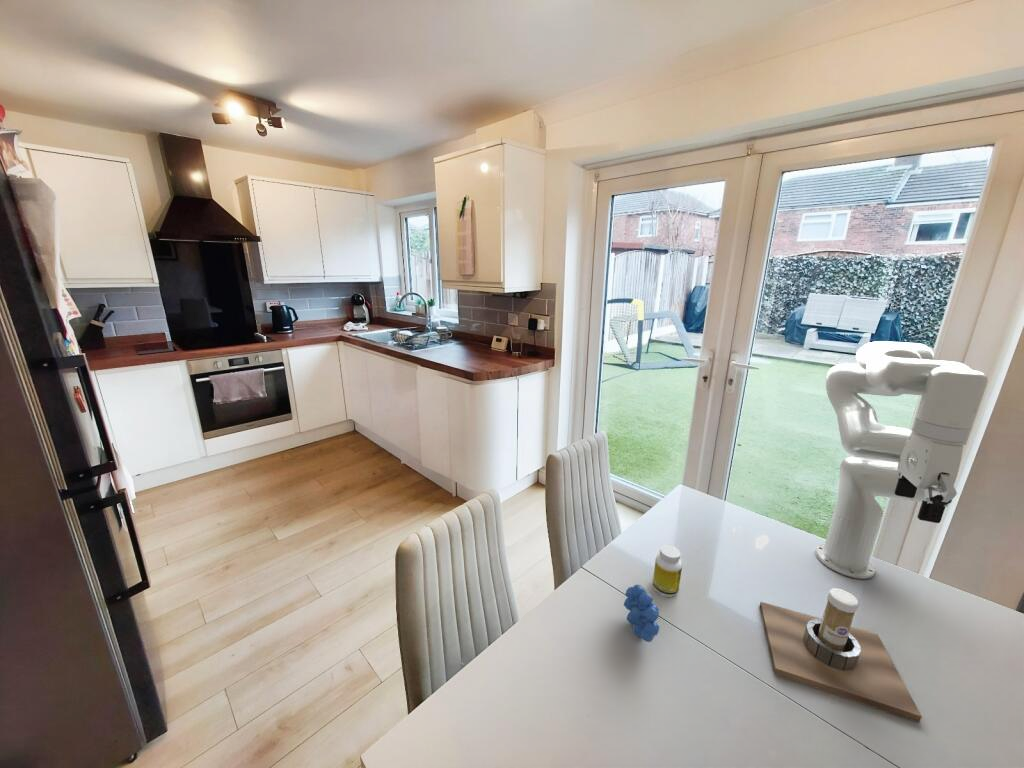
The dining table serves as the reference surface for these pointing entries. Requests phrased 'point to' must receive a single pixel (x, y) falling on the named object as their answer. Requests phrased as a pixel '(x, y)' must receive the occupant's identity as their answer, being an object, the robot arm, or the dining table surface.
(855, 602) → the sprinkles bottle
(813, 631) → the collar
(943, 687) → the dining table surface
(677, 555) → the pill bottle
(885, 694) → the socket board
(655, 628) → the grapes
